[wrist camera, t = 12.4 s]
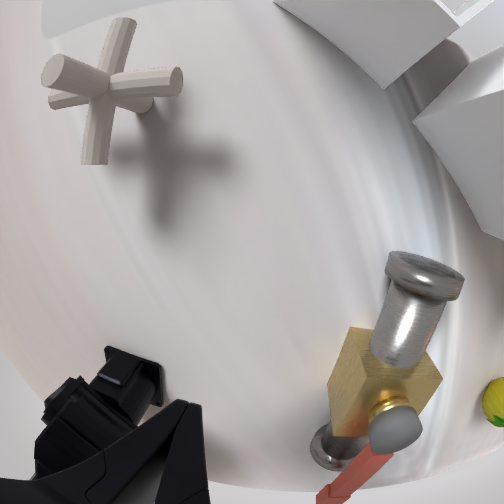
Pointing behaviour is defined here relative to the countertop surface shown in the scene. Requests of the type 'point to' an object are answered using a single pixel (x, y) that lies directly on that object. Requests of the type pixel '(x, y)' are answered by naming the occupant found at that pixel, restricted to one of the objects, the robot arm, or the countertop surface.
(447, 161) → the storage container
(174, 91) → the pipe connector
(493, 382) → the lemon
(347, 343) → the valve body
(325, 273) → the countertop surface
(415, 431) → the lever
